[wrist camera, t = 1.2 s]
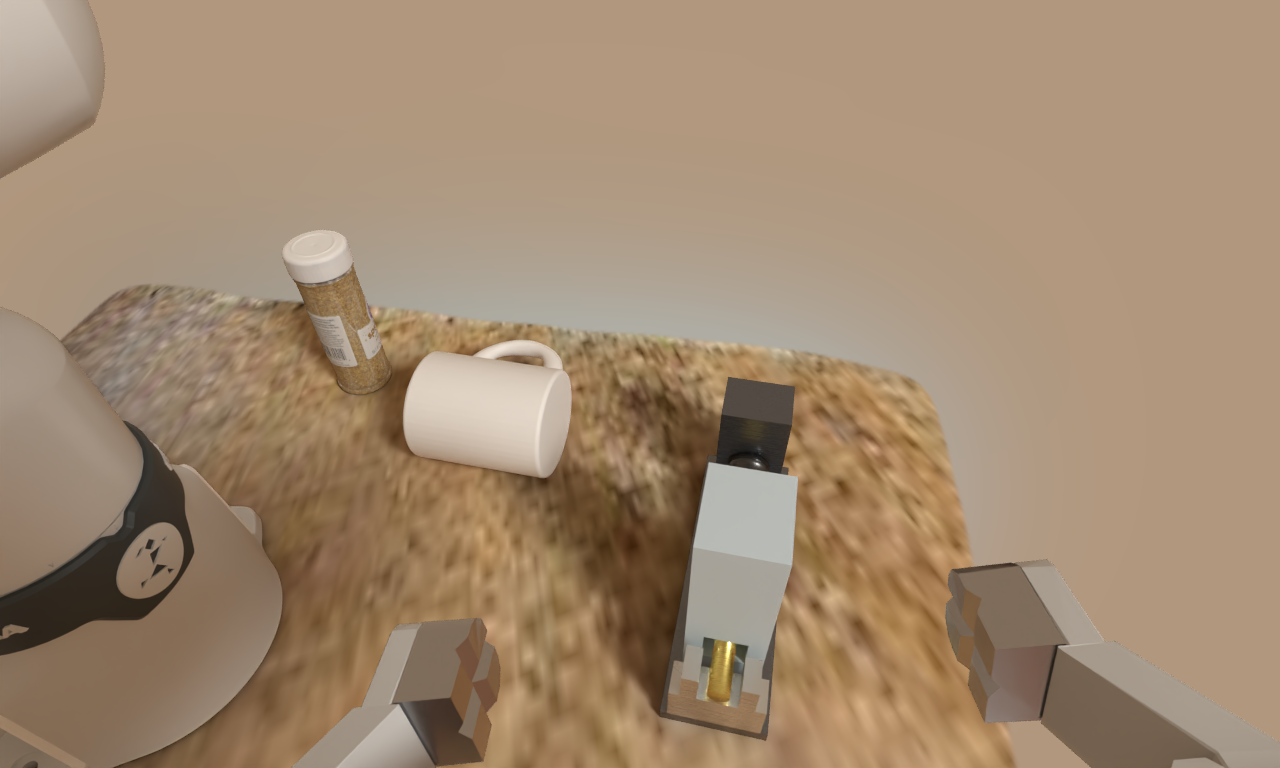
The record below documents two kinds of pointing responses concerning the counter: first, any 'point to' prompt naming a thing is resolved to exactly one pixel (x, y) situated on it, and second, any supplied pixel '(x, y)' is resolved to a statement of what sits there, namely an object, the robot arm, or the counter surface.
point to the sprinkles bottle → (338, 309)
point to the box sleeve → (740, 560)
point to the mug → (490, 409)
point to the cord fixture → (691, 690)
